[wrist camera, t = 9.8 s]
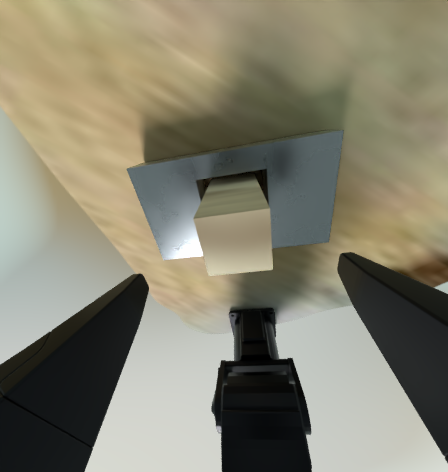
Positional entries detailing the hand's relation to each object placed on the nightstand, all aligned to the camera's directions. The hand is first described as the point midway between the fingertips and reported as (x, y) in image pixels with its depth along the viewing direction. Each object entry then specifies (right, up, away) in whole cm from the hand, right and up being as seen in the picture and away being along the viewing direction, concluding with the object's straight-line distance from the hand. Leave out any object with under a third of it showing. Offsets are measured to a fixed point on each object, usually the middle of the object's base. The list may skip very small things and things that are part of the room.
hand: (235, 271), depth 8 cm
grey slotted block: (+1, +5, +10) cm, 11 cm away
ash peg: (+1, +5, +10) cm, 11 cm away
